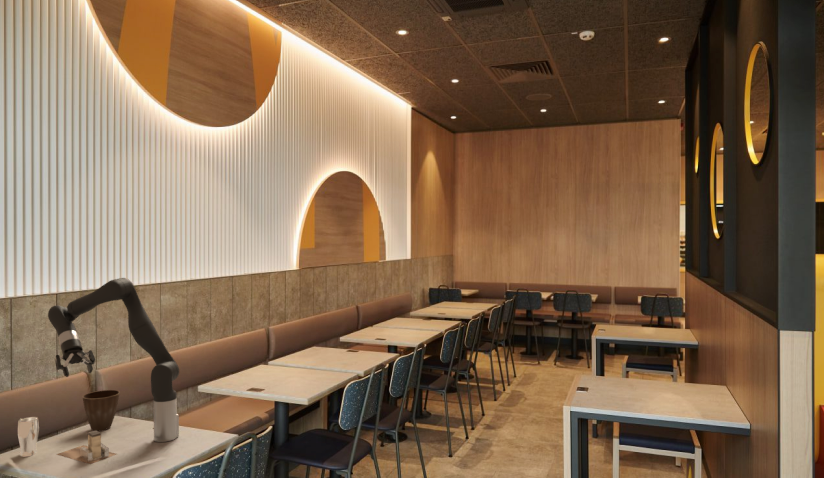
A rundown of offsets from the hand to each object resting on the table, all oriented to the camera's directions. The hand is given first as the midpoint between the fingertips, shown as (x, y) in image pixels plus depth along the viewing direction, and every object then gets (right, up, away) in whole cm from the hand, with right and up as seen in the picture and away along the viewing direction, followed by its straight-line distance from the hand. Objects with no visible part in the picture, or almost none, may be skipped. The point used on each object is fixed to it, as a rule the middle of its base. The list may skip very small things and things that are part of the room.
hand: (79, 373), depth 231 cm
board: (+10, -31, -11) cm, 34 cm away
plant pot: (-3, -31, +22) cm, 38 cm away
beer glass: (-14, -31, -10) cm, 36 cm away
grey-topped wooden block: (+14, -29, -14) cm, 35 cm away
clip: (+14, -29, -14) cm, 35 cm away
